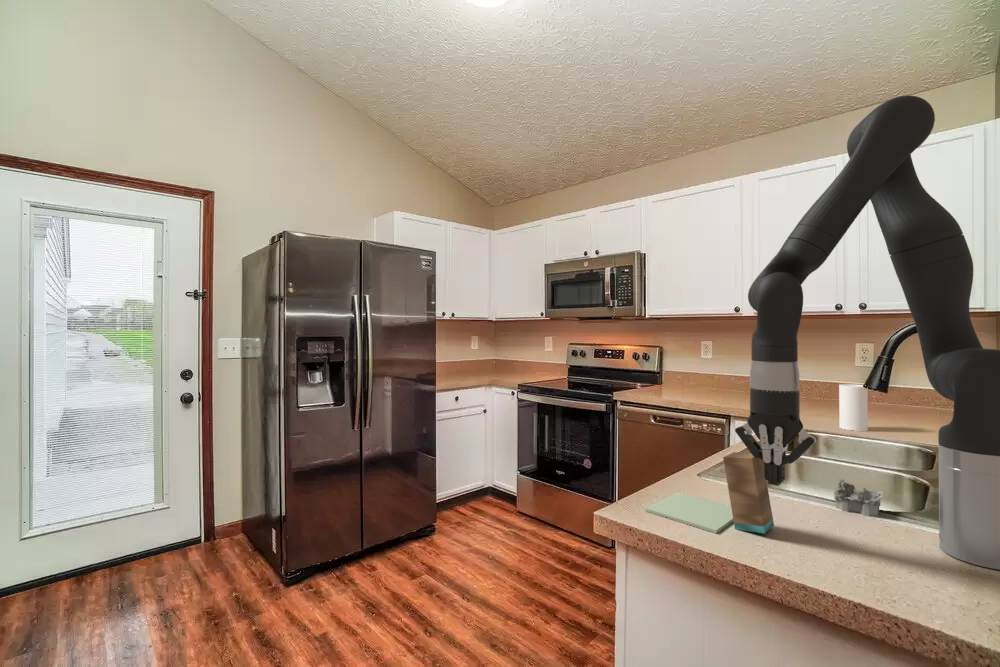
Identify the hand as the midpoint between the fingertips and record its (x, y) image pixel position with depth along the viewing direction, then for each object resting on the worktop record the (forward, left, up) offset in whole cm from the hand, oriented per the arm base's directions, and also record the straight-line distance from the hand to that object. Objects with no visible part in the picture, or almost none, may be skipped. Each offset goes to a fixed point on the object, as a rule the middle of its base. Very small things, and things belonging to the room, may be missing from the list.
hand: (774, 483), depth 80 cm
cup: (+9, -117, -9) cm, 118 cm away
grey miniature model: (-7, -27, -10) cm, 30 cm away
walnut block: (+3, 0, -9) cm, 10 cm away
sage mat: (+14, 0, -9) cm, 17 cm away
